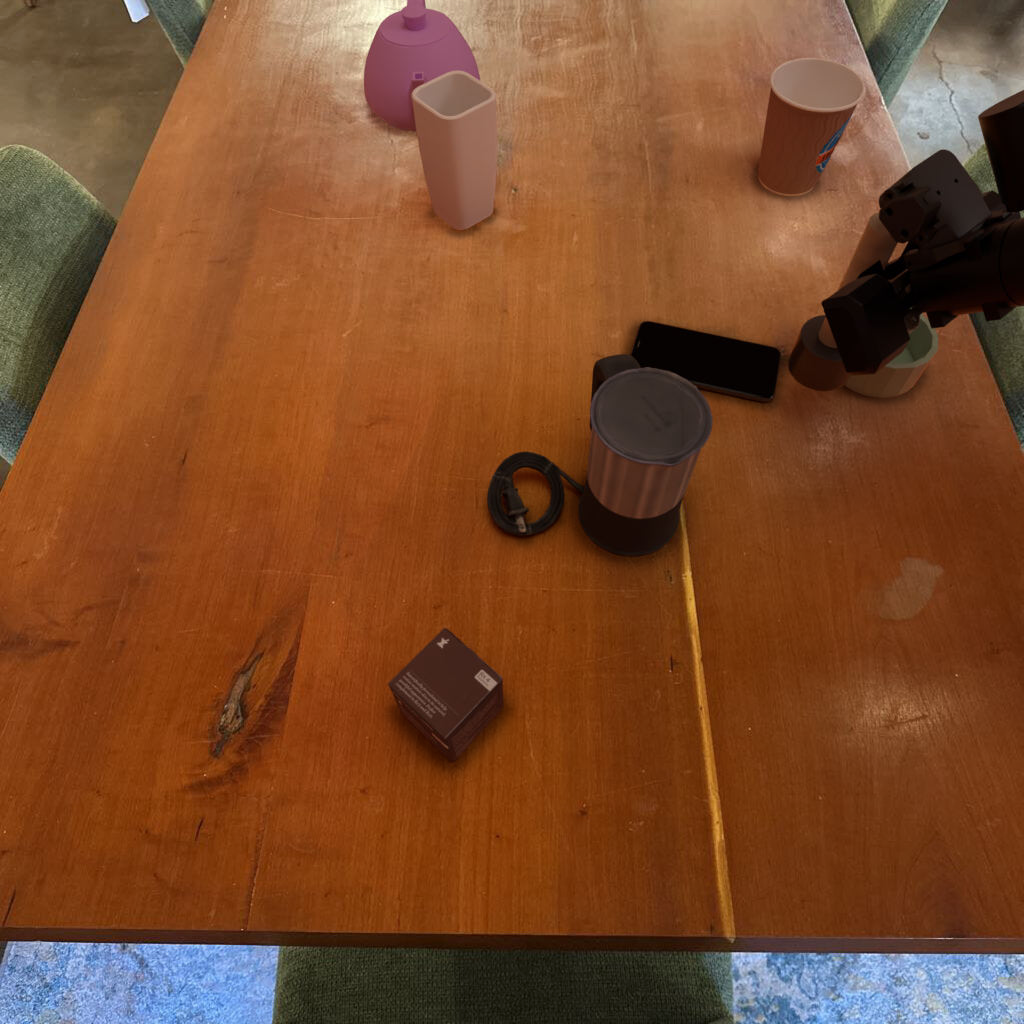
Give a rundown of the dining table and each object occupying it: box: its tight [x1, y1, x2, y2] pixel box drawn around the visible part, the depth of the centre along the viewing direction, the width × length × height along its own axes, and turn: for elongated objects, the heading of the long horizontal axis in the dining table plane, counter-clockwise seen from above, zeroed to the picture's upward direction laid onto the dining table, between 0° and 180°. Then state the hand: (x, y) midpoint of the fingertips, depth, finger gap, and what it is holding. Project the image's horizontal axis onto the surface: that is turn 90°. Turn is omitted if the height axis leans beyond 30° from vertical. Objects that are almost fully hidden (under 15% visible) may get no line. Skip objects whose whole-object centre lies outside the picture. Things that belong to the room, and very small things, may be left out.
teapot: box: [363, 0, 481, 133], centre depth 99 cm, size 22×16×12 cm
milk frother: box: [486, 353, 714, 557], centre depth 64 cm, size 14×16×15 cm
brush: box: [787, 212, 899, 392], centre depth 64 cm, size 6×6×16 cm
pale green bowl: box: [843, 308, 940, 399], centre depth 77 cm, size 9×9×4 cm
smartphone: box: [629, 320, 782, 403], centre depth 79 cm, size 7×1×15 cm
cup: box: [412, 71, 498, 231], centre depth 86 cm, size 7×7×15 cm
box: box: [387, 627, 504, 763], centre depth 58 cm, size 6×6×7 cm
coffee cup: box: [757, 57, 866, 197], centre depth 89 cm, size 10×10×12 cm
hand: (835, 298), depth 65 cm, fingers closed on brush, 2 cm apart
